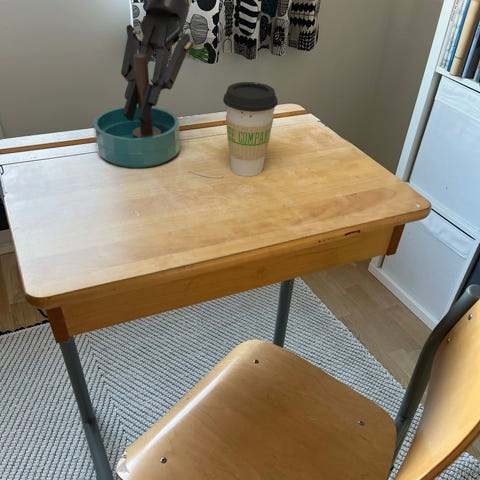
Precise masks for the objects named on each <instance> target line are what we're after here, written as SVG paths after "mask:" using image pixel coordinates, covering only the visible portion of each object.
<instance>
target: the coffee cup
mask: <svg viewBox="0 0 480 480" xmlns="http://www.w3.org/2000/svg"><path fill="white" fill-rule="evenodd" d="M222 101H223V103H224V104H225V113H226V115H225V123H226V131H227V132H226V135H227V145H228V146H227V147H228V153H229V161H230V171H231V172H232V173H233V174H235V175H237V176H240V177H256V176H259V175H260V174H261V173H262V172H263V170H264V169H263V168H264V163H265V158H266V155H267V152H268V146H269V142H270V137H271V134H272V133H271V132H272V128H273V123H274V114H275V108H276V107H277V106H278V97H277V95H276V91H275V89H274V88H273V87H272V86H270V85H268V84H265V83H261V82H254V81H243V82H242V81H241V82H236V83H232V84H230V85H229V86H227V89H226V92H225V93H224V94H223V99H222Z"/></svg>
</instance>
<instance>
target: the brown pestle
mask: <svg viewBox="0 0 480 480" xmlns="http://www.w3.org/2000/svg"><path fill="white" fill-rule="evenodd" d="M134 66H135V77H136V88H137V98H138V104H137V106H138V109H140V106H141V103H142V99H143V96H144V93H145V89H146V86H147V83H149V84H150V77H149V63H148V61H147V55H146V54H143V53H139V52H137V54H134ZM139 120H140V119H139ZM132 134H133V138H143V137H151V136H156V135H159V134H161V131H160V129H158V128H156V127H152V114H151V112H150V115H149V118H148V122H147V124H143V123H142V122H141V120H140V127H138V128H136V129H134V130H133V132H132Z"/></svg>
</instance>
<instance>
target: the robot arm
mask: <svg viewBox="0 0 480 480" xmlns="http://www.w3.org/2000/svg"><path fill="white" fill-rule="evenodd" d="M192 1H193V0H148V1H147V4H146V7H145V15H144V17H143V19H142V20H141V21H140V24H139V25H135V26H133V25H132V24H128V25H127V26H126V36H127V38H126V43H125V49H124V54H123V59H122V63H121V64H122V67H121V71H120V75H121V76H122V77H123V78H124V79H125V81H126V82H127V85H126V89H125V93H124V98H125V100H126V101H125V104H124V106H123V107H124V111H123V115H124V116H125V117H126V118H127V119H128V120H129V121H133V117H134V114H135V111H136V107H137V106H138V98H137V88H136V77H135V66H134V54H137V53H143V54H146V55H147V61H148V64H149V63H150V61H151V58H152V56H153V55H155V53H156V57H155V62H154V69H153V74H152V78H149V81H150V82H151V83H150V82H149V83H147V86H146V89H145V93H144V96H143V99H142V103H141V106H140V109H139V113H138V116H137V117H138V118H139V119H140V120H141V122H142V123H143V124H147V122H148V118H149V115H150V112H151V108H152V107H156V106H157V105H158V101H159V98H160V95H161V93H162V91H163V90H166V89H167V90H169V91H170V90H171V89H173V87H174V84H175V82H176V79H177V77H178V75H179V72H180V70H181V68H182V66H183V64H184V61H185V58H186V56H187V54H188V53H189V52H190V50H191V49H192V48H193V47H194V42H193V41H192V38H191V36H190V34H189V33H185V32H184V31H185V30H184V27H185V25H186V22H187V18H188V15H189V12H190V8H191V4H192ZM142 36H143V37H142ZM141 37H142V39H141ZM139 41H141V44H140V42H139ZM140 45H141V46H140ZM139 46H140V48H139ZM173 46H175V47H174V49H173V51H172V48H173ZM138 50H139V51H138ZM156 50H157V52H156ZM171 53H172V54H171ZM169 58H170V59H169Z"/></svg>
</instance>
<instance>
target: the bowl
mask: <svg viewBox="0 0 480 480" xmlns="http://www.w3.org/2000/svg"><path fill="white" fill-rule="evenodd" d="M124 107H125V106H120V107H119V106H118V107H115V108H111V109H109V110H106V111H103V112H101V113H99V114H97V116H96V117H94V119H93V122H92V128H93V135H94V141H95V148H96V151H97V154H98V155H99V156H100V157H101V158H102V159H104V160H105V161H107V162H109V163H111V164H113V165H115V166H119V167H123V168H131V169H140V168H141V169H143V168H152V167H156V166H160V165H163V164H166V163H167V162H169V161H170V160H173V158H174V157H176V156H177V154H178V153H179V152H180V150H181V137H180V135H181V134H180V119H179V118H178V117H177V115H176V114H174V113H173V112H171V111H169V110H166V109H163V108H159V107H156V106H152V108H151V114H152V127H156V128H158V129H160V131H161V134H159V135H156V136H151V137H143V138H133V134H132V132H133V130H134V129H136V128H138V127H140V120H139V118H138V117H137V116H138V113H139V109H138V105H137V107H136V111H135V114H134V117H133V121H129V120H128V119H127V118H126V117H125V116H124V115H123V111H124Z"/></svg>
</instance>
